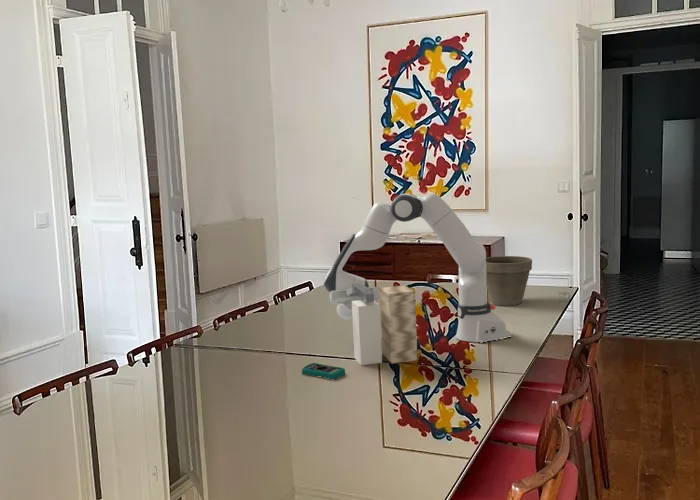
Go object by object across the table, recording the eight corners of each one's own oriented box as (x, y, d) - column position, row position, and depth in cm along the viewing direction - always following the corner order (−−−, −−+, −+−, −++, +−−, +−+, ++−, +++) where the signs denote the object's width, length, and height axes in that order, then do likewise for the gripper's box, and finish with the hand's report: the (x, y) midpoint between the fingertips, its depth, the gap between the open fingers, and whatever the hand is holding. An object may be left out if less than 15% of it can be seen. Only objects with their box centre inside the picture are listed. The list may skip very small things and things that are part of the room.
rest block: (374, 355, 267) (372, 298, 264) (382, 362, 257) (379, 304, 254) (354, 357, 265) (351, 300, 262) (361, 365, 255) (358, 306, 252)
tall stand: (407, 351, 270) (404, 285, 266) (417, 360, 258) (414, 291, 254) (382, 354, 267) (379, 287, 264) (391, 363, 256) (388, 293, 252)
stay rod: (360, 291, 270) (359, 283, 270) (373, 301, 251) (373, 293, 251) (352, 291, 270) (352, 284, 269) (365, 302, 250) (365, 294, 250)
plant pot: (493, 295, 359) (492, 253, 355) (540, 299, 344) (539, 256, 341) (471, 305, 339) (470, 261, 335) (520, 310, 324) (519, 264, 321)
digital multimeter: (313, 369, 255) (312, 361, 255) (346, 375, 247) (345, 367, 246) (300, 375, 249) (299, 367, 249) (334, 381, 241) (333, 373, 240)
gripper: (325, 294, 277) (331, 283, 264) (375, 290, 282) (382, 278, 269) (327, 310, 275) (333, 299, 262) (377, 305, 279) (385, 294, 267)
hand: (358, 288), depth 266 cm, fingers closed on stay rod, 3 cm apart
